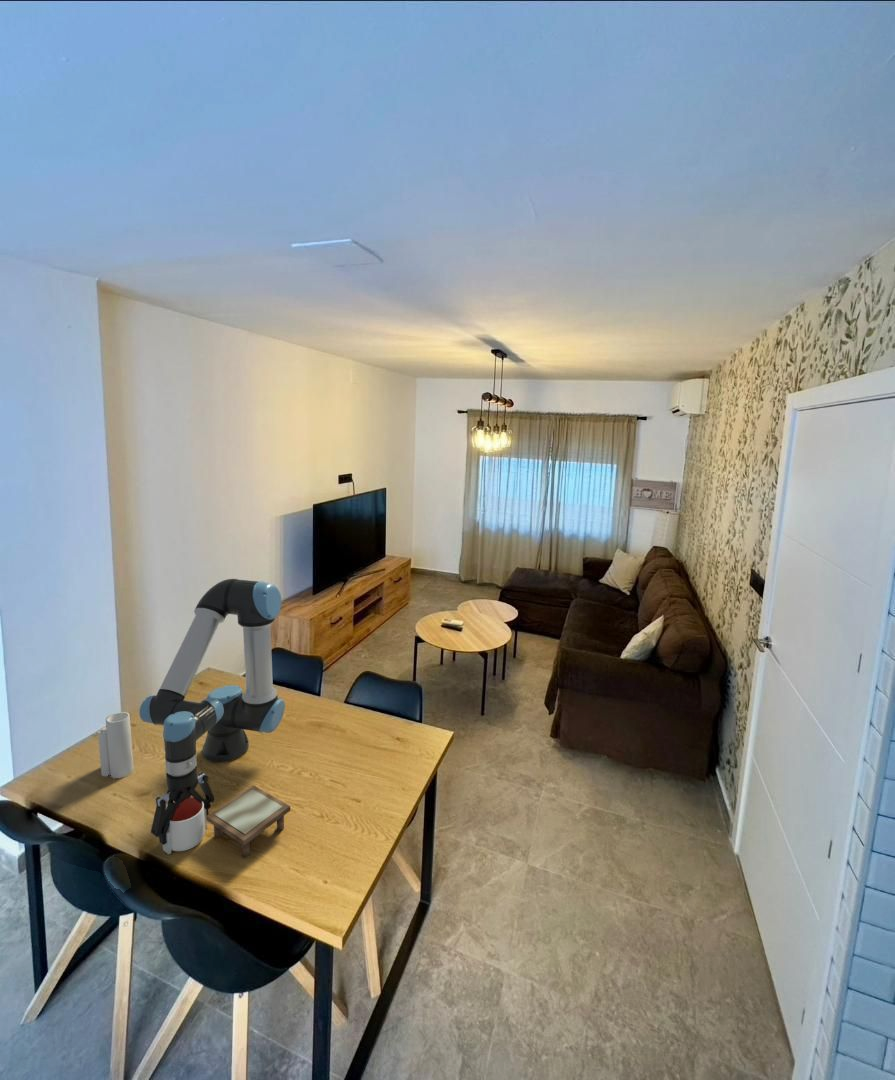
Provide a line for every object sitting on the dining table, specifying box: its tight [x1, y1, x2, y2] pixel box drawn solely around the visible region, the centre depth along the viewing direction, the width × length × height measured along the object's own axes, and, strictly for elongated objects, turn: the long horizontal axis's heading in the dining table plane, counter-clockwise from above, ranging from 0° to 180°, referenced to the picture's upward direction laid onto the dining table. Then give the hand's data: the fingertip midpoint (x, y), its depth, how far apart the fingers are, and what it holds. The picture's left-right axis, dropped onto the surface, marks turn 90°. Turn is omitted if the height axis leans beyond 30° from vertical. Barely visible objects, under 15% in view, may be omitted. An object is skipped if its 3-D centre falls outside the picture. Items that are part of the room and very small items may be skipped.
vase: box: [97, 711, 134, 779], centre depth 173 cm, size 11×7×20 cm, turn 72°
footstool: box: [206, 785, 291, 859], centre depth 151 cm, size 16×16×7 cm
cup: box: [168, 796, 206, 852], centre depth 147 cm, size 10×10×10 cm
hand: (185, 839), depth 148 cm, fingers closed on cup, 10 cm apart
